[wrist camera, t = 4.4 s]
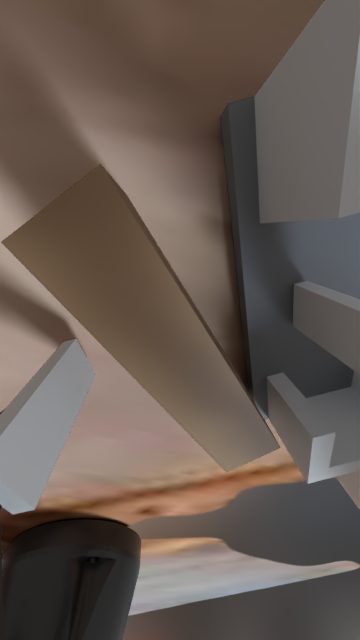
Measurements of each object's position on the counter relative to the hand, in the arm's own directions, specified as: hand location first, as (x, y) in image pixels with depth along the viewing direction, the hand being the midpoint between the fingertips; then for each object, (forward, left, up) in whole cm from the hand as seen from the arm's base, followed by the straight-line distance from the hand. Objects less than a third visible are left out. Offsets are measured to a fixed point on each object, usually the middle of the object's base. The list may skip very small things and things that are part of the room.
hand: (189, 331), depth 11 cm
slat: (-1, 0, -1) cm, 1 cm away
